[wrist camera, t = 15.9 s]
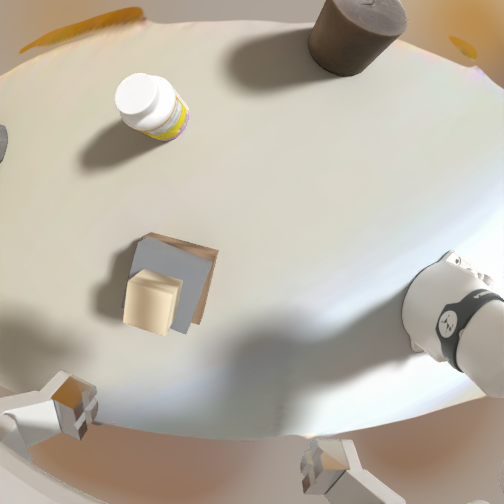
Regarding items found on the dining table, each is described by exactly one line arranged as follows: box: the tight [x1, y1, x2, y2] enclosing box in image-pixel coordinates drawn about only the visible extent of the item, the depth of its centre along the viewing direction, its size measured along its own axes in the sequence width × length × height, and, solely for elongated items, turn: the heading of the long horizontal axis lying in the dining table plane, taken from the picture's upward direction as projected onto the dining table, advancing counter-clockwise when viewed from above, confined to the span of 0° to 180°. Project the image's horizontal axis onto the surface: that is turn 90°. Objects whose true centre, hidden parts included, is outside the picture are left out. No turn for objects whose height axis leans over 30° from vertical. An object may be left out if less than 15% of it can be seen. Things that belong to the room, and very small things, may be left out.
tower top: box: [122, 237, 213, 334], centre depth 35 cm, size 9×9×4 cm
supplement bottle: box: [115, 73, 190, 141], centre depth 30 cm, size 7×7×13 cm
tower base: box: [142, 232, 219, 325], centre depth 39 cm, size 10×10×4 cm
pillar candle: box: [308, 0, 408, 76], centre depth 27 cm, size 10×10×15 cm
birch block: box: [123, 269, 183, 336], centre depth 31 cm, size 5×5×5 cm
